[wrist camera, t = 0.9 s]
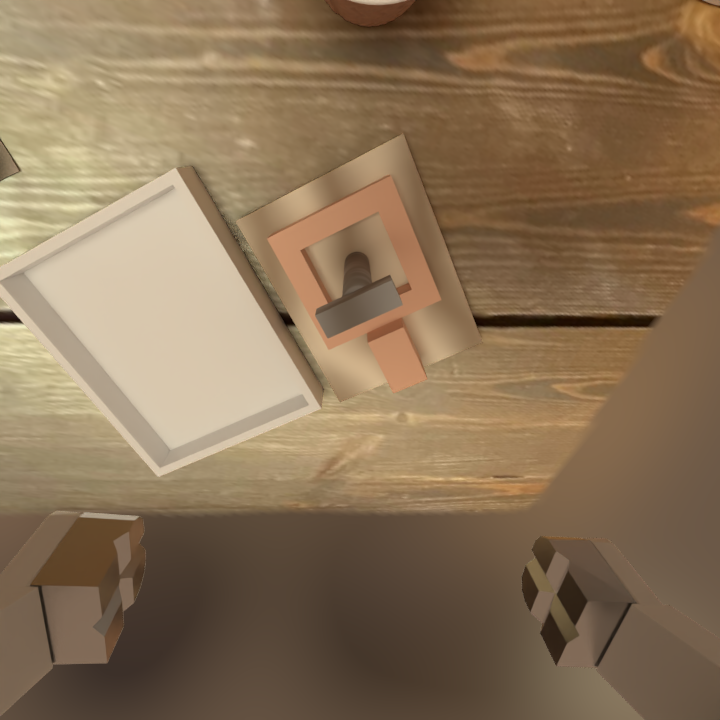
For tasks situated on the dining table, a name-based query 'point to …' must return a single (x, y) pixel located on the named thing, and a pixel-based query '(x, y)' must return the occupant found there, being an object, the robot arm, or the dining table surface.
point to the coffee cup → (369, 10)
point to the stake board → (377, 244)
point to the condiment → (6, 163)
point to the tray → (164, 324)
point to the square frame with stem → (420, 292)
